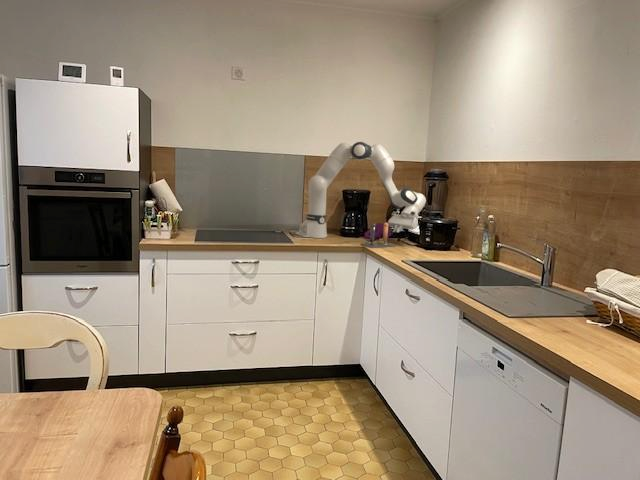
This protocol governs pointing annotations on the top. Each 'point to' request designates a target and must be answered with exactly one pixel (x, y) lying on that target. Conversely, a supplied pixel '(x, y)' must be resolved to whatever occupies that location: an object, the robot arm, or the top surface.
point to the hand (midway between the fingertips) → (395, 231)
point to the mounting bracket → (377, 231)
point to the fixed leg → (372, 233)
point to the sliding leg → (385, 232)
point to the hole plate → (378, 244)
